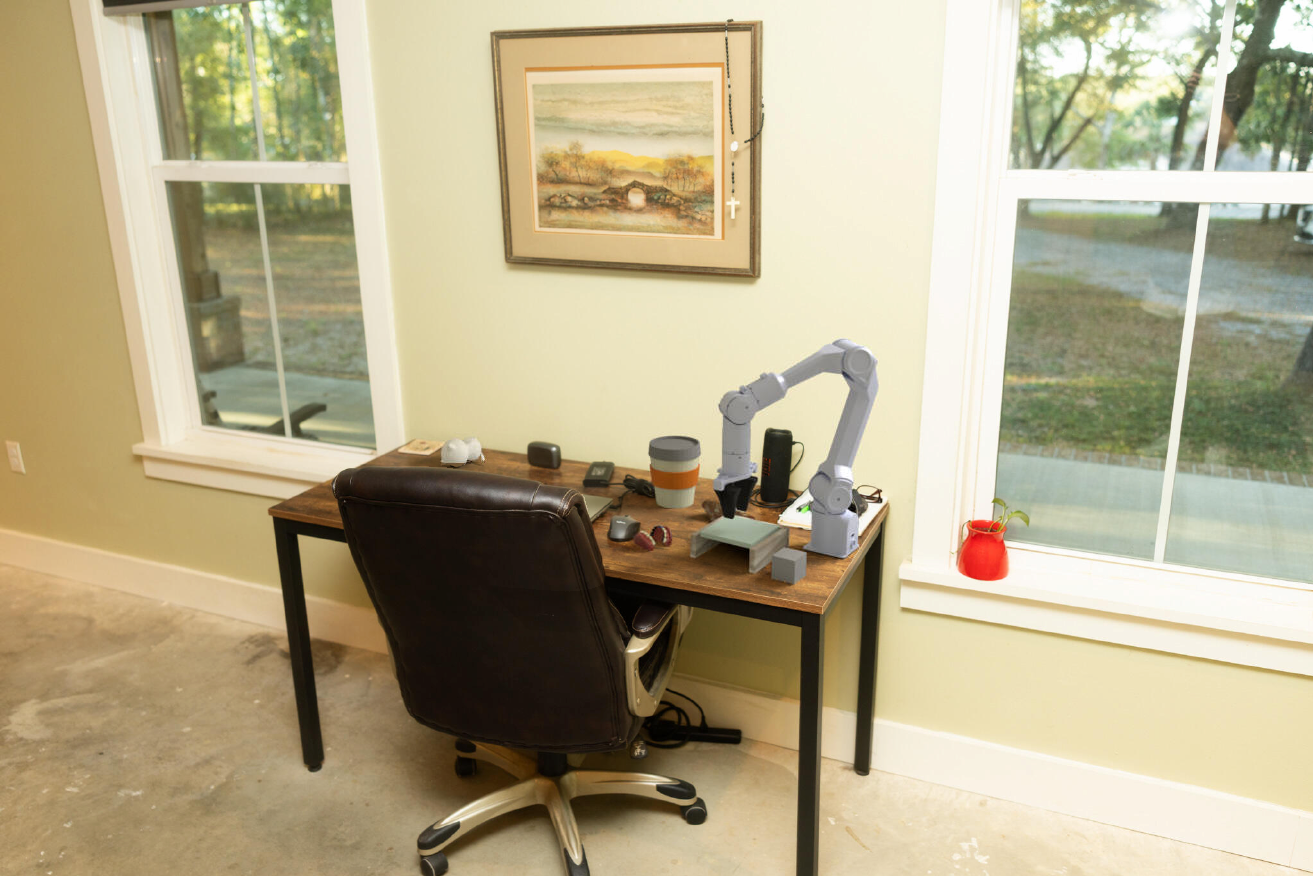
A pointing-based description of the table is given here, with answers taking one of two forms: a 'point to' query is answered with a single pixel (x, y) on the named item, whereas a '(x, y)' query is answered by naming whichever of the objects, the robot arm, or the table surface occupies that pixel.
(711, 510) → the decorative stone
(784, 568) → the granite block
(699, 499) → the table surface
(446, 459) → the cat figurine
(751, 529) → the trapdoor
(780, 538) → the frame
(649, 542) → the dentures model
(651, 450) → the reusable coffee cup
